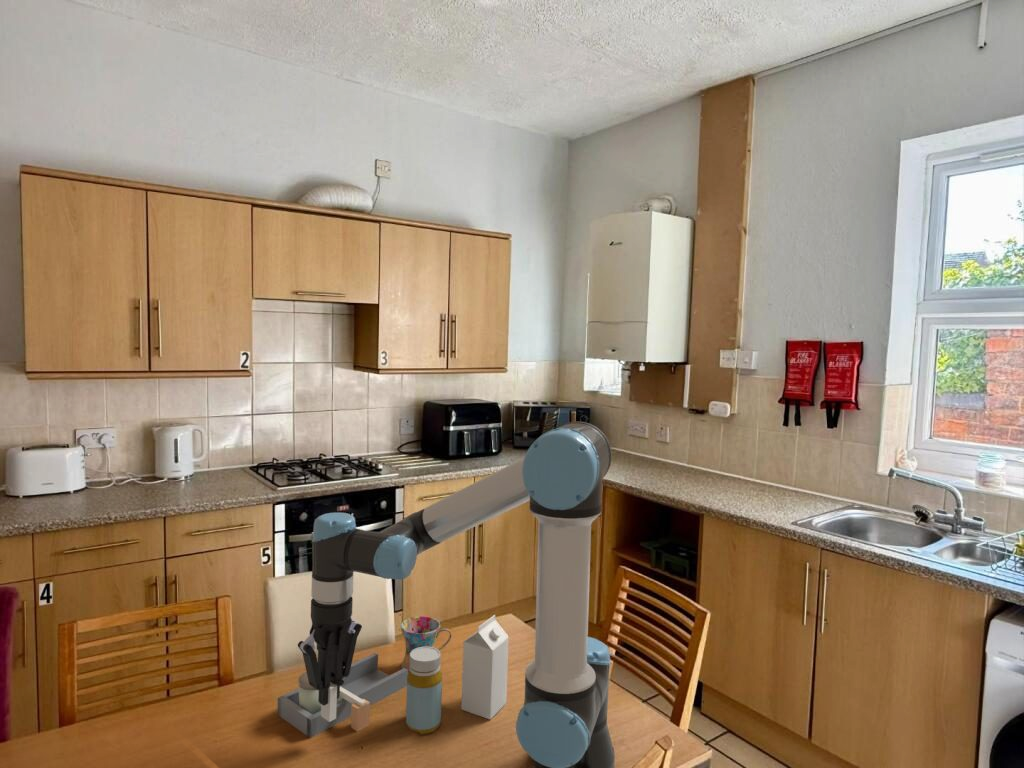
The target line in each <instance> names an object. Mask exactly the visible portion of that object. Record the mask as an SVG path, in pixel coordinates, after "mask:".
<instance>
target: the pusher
mask: <svg viewBox="0 0 1024 768" xmlns="http://www.w3.org/2000/svg"><path fill="white" fill-rule="evenodd" d="M343 699H345V700H347V701H349V702H350V703H352V705H351V717H350V728H351V729H352V730H354V731H356V732H359V731H362V730H363V729H364V728H366V727H368V726H370V725H371V724H370V723H371V722H370V720H371V717H370V716H371V706H370V702H369V701H367V700H365V699H361V698H359V697H358V696H356V695H354V694H352V693H351V692H349V691H347V690H346V689H344V688H342V687H340V695H339V698H338V699H337V702H339V701H341V700H343Z"/></svg>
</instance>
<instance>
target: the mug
mask: <svg viewBox="0 0 1024 768" xmlns="http://www.w3.org/2000/svg"><path fill="white" fill-rule="evenodd" d="M440 622H441V621H439V620H438V619H436V618H435V617H430V616H423V615H419V616H413V617H409V618H405V620H403V621H402V622H401V624H400V630H401V633H402V634H403V637H404V643H405V653H404V658H403V659H402V662H401V668H402V669H403V668H406V669H408V672H409V670H410V669H409V667H410V653H411V651H412V650H414V649H416V648H418V647H426V646H427V647H434V648H435V643H436V639H437V638H438V636H439V634H441V633H442V632H448V633H449V637H448V639H447V640H446V641H445V643H444V644H443V645H442V646H440V647H438V648H437V649H438V650H439V651H441V650H442V649H444V648H445V647H446V646H448V644H449V642H450V641H451V639H452V631H451V629H448V628H442V629H440V628H441V623H440Z"/></svg>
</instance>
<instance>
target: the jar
mask: <svg viewBox="0 0 1024 768" xmlns="http://www.w3.org/2000/svg"><path fill="white" fill-rule="evenodd" d="M297 680H298V688H299V706H300V707H301V708H303V709H304V710H306V711H307V712H309V713H311V714H312V715H313V714H315V713H317V712H319V711H321V704H320V703H319V701H318V696H319V690H317V689H315V688H314V687H312V686H311V685H309V681H308V676H307V672H303V673H302V674H301V675H300V676H299V677H298V679H297Z"/></svg>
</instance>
